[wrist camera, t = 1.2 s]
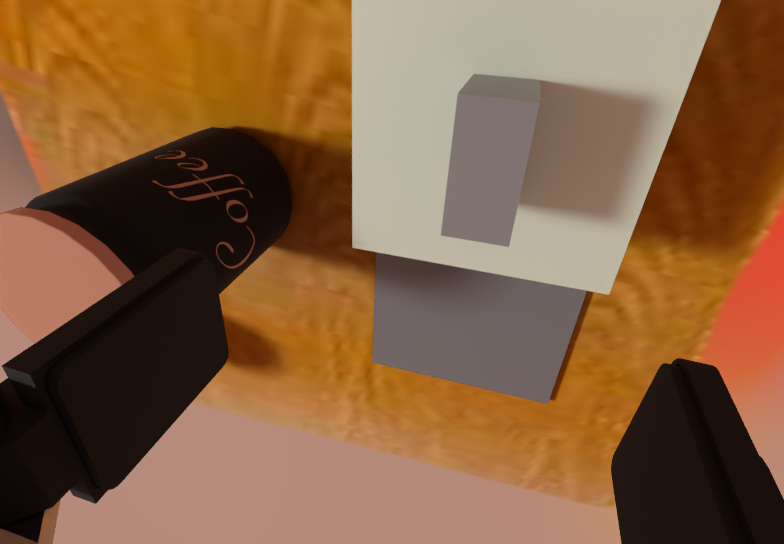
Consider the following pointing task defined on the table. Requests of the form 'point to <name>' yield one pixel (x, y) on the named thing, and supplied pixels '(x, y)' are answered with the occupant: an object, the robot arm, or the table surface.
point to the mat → (472, 325)
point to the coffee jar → (140, 225)
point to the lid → (515, 128)
